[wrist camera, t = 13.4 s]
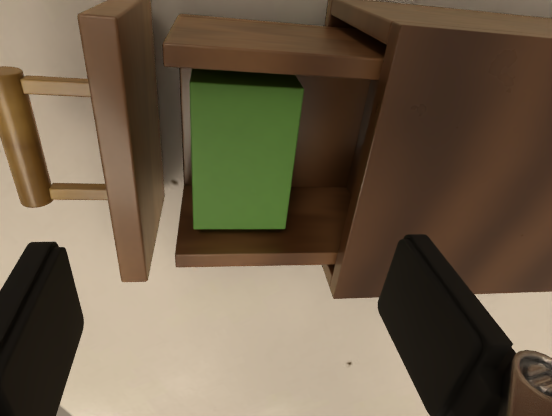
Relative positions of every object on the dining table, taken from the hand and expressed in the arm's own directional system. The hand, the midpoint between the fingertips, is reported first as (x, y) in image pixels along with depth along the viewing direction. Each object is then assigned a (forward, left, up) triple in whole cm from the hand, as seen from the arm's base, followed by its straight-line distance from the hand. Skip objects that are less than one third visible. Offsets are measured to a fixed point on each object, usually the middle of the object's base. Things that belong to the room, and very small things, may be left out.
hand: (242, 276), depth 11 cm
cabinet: (+4, +12, -14) cm, 19 cm away
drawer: (0, -1, -13) cm, 13 cm away
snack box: (0, 0, -12) cm, 12 cm away
